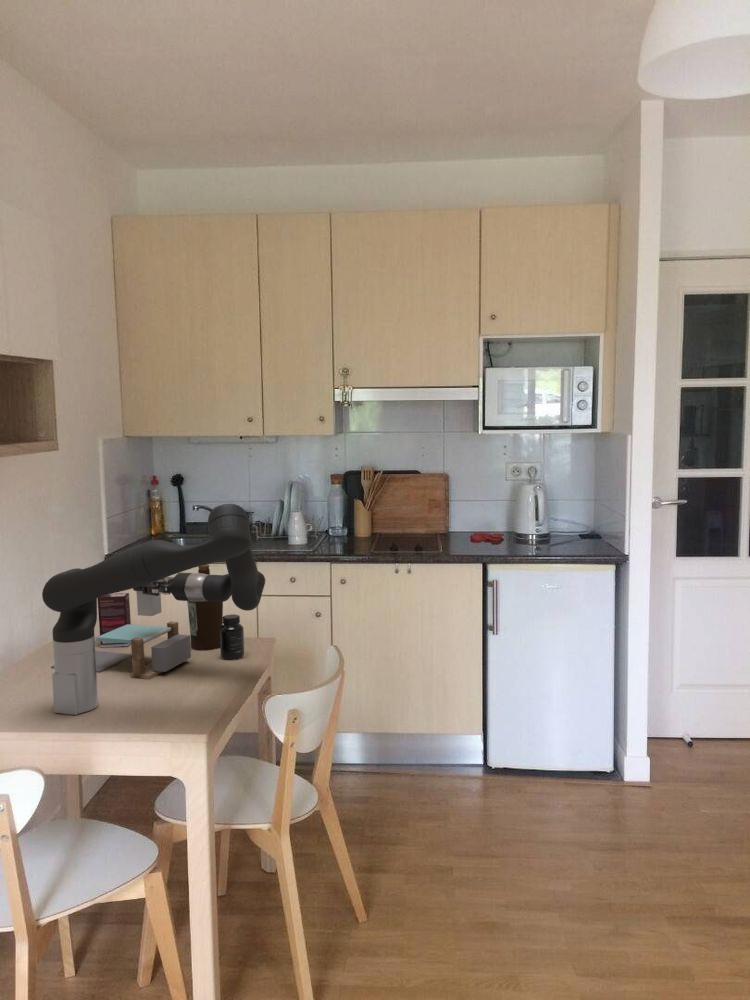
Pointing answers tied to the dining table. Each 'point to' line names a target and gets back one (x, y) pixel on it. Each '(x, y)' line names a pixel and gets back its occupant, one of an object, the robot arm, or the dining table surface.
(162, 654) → the teal topped platform
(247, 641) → the dining table surface
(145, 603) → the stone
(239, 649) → the supplement bottle
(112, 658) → the mat
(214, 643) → the olive oil
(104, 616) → the supplement box
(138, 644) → the stand
